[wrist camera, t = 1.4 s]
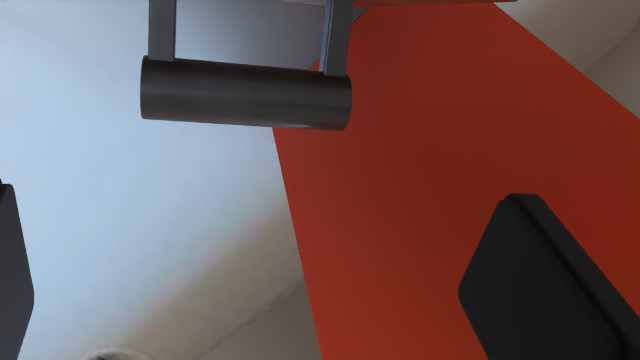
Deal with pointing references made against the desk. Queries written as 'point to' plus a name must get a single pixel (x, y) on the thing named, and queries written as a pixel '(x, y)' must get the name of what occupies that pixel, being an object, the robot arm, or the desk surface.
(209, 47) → the desk surface
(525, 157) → the file binder
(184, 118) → the wooden box lid
